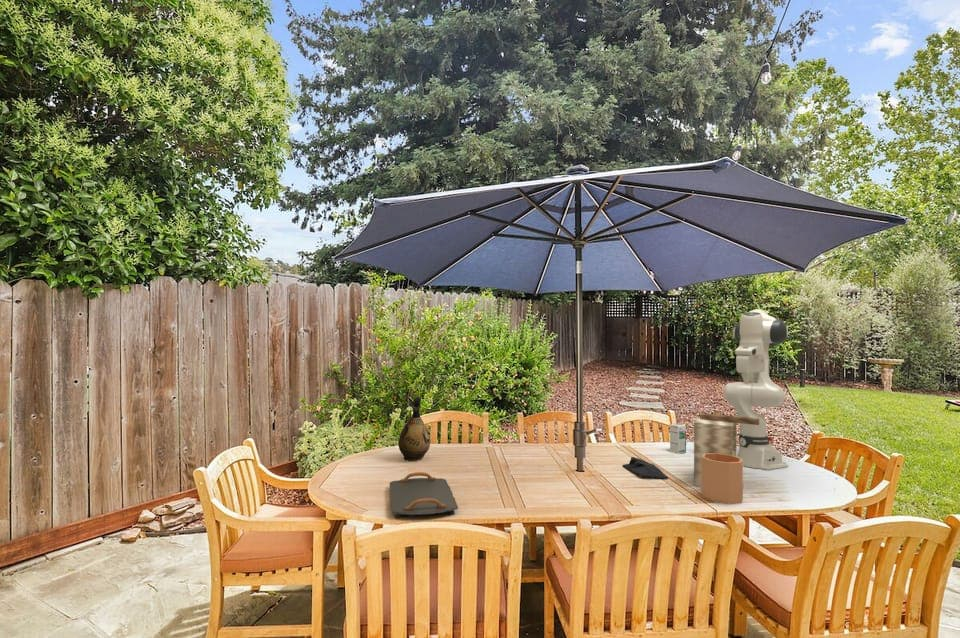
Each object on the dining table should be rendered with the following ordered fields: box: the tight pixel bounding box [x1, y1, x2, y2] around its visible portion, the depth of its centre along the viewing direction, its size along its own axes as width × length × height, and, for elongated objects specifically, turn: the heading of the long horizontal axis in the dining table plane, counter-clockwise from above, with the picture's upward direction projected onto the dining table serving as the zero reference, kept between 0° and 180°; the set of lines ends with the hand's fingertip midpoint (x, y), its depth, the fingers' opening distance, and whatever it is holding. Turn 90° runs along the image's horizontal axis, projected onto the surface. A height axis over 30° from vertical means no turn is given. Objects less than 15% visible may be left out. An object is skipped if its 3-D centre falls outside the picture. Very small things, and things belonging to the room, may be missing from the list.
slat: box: [699, 412, 759, 425], centre depth 207 cm, size 22×4×2 cm, turn 58°
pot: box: [700, 453, 744, 505], centre depth 190 cm, size 14×14×15 cm
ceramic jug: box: [398, 395, 431, 462], centre depth 242 cm, size 17×15×30 cm
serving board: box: [389, 471, 459, 520], centre depth 184 cm, size 39×23×6 cm, turn 12°
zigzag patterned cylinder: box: [693, 416, 738, 487], centre depth 209 cm, size 14×22×26 cm, turn 148°
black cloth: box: [621, 456, 669, 480], centre depth 222 cm, size 15×22×5 cm
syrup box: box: [669, 423, 687, 455], centre depth 258 cm, size 6×6×14 cm
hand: (751, 383), depth 207 cm, fingers open, 8 cm apart
